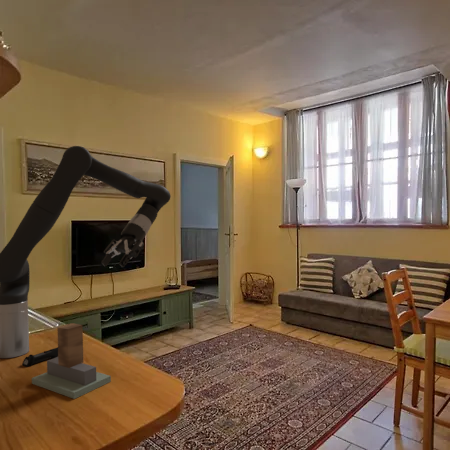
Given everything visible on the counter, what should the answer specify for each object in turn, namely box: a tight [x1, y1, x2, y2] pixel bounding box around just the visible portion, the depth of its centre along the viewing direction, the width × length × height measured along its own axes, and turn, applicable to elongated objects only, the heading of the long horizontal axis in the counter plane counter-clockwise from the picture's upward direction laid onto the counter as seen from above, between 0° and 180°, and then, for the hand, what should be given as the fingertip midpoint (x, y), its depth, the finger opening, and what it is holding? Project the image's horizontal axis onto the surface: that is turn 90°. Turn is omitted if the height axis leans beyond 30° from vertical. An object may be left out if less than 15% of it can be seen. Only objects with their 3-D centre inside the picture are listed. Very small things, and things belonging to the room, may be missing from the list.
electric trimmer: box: [21, 346, 58, 368], centre depth 116 cm, size 4×16×3 cm, turn 145°
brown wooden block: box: [56, 322, 84, 368], centre depth 97 cm, size 4×4×10 cm
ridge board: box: [31, 357, 112, 400], centre depth 96 cm, size 18×11×5 cm, turn 58°
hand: (112, 265), depth 119 cm, fingers open, 8 cm apart
